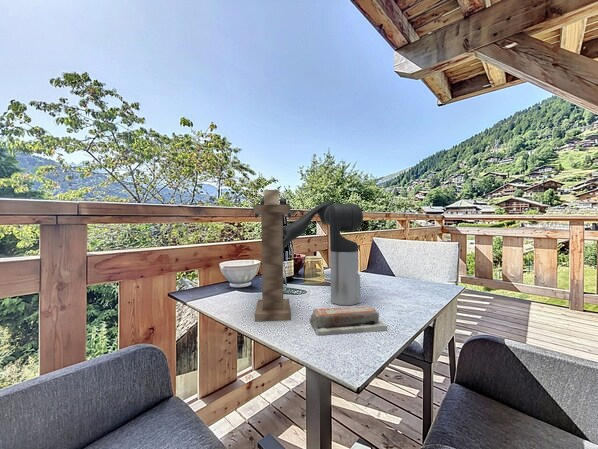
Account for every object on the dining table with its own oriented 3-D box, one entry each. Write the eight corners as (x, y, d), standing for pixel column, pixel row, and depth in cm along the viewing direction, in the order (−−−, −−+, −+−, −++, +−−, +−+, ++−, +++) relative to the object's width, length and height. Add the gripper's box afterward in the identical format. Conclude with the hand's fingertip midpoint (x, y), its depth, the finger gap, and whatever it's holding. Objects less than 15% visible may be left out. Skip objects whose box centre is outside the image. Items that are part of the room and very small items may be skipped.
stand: (288, 304, 87) (287, 207, 87) (291, 320, 73) (289, 204, 73) (258, 305, 86) (257, 208, 86) (254, 321, 72) (253, 205, 72)
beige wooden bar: (278, 209, 96) (278, 197, 96) (278, 204, 72) (278, 189, 72) (267, 209, 95) (267, 198, 95) (264, 204, 71) (263, 189, 71)
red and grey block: (316, 317, 63) (309, 305, 73) (316, 338, 63) (309, 322, 73) (387, 313, 65) (371, 301, 75) (388, 332, 65) (371, 318, 75)
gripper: (291, 231, 104) (293, 207, 89) (254, 232, 102) (250, 208, 88) (291, 215, 107) (293, 190, 93) (255, 215, 106) (251, 190, 92)
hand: (272, 199), depth 90 cm, fingers open, 5 cm apart
